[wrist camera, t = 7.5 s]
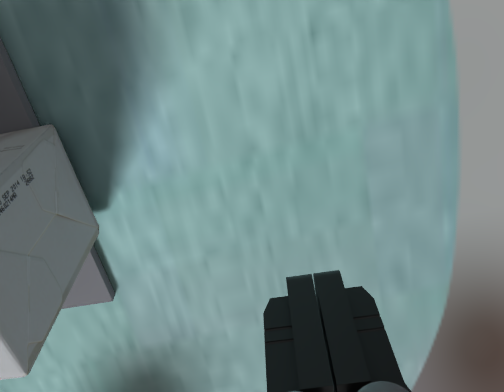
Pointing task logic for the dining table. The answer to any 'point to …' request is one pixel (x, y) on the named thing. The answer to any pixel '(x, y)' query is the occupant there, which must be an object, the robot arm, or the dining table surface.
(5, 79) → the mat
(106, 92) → the dining table surface
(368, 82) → the dining table surface
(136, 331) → the dining table surface
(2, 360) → the coffee box
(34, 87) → the dining table surface
